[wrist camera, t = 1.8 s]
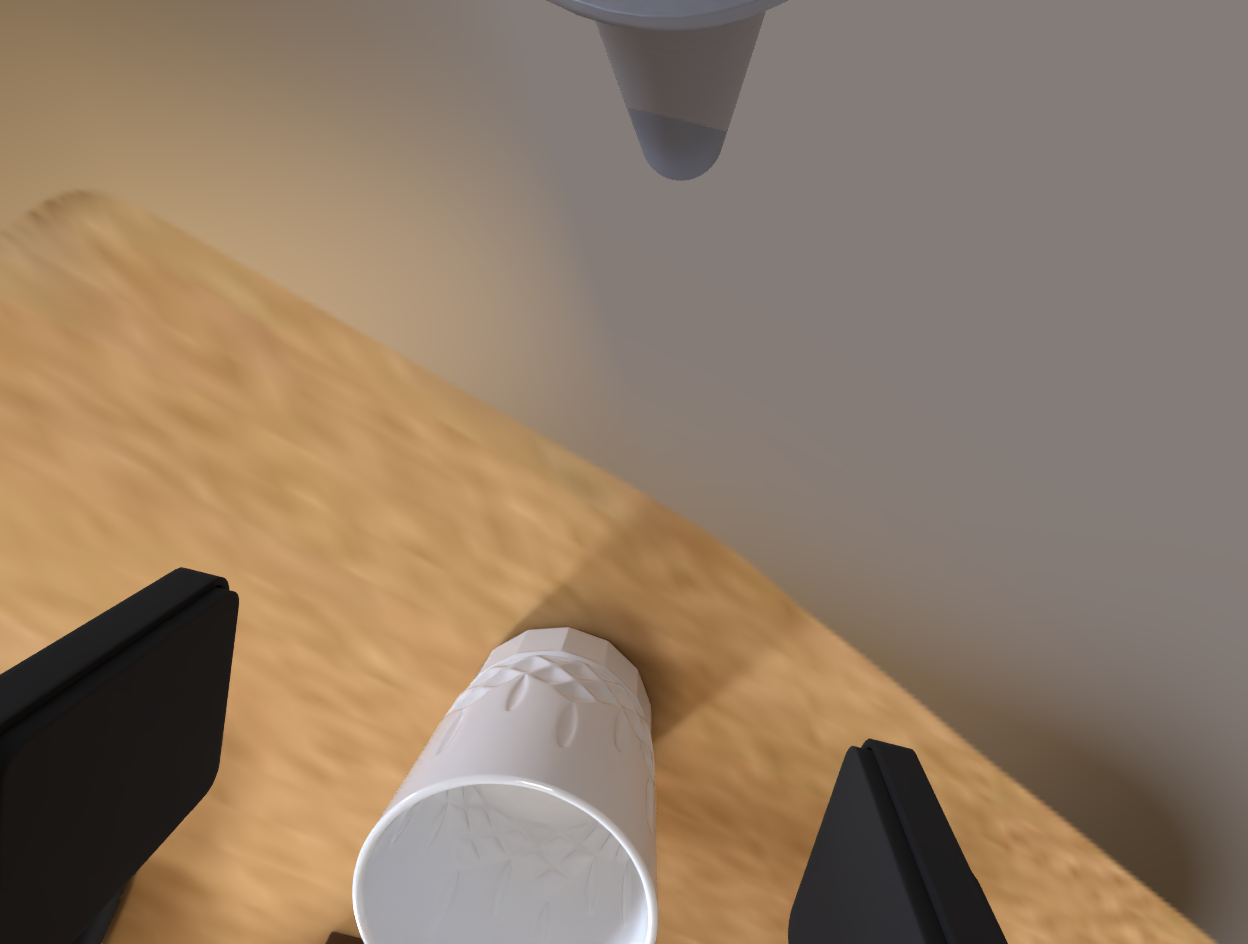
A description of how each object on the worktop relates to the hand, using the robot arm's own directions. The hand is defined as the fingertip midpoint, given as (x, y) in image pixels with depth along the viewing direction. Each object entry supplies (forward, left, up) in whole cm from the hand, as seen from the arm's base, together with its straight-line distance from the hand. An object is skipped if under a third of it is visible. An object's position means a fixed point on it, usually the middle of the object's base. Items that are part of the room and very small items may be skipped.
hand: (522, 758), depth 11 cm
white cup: (+10, 0, -18) cm, 21 cm away
